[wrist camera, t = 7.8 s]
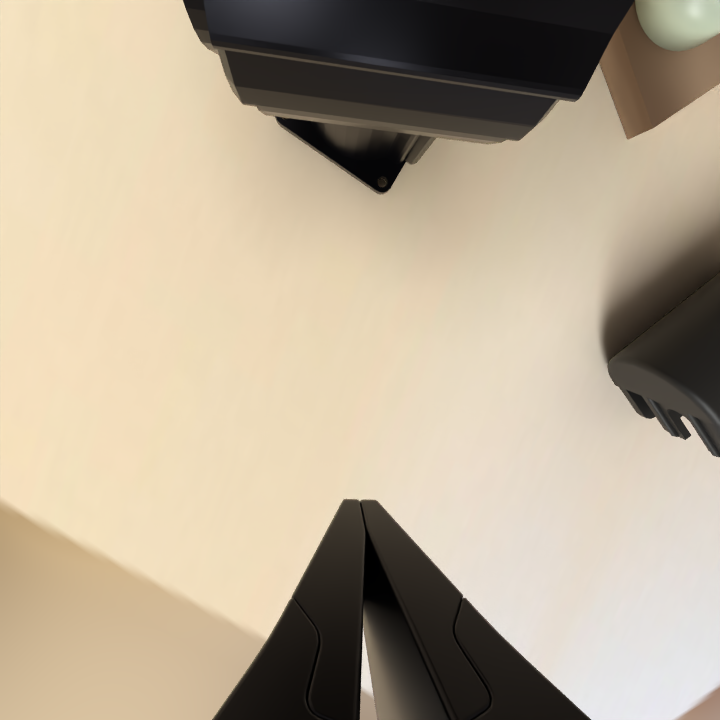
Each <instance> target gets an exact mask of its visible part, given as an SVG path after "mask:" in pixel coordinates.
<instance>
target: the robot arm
mask: <svg viewBox="0 0 720 720" xmlns="http://www.w3.org/2000/svg"><path fill="white" fill-rule="evenodd" d="M634 1H635V0H183V2H184V5H185V8H186V10H187V13H188V15H189V18H190V20H191V23H192V25H193V28H194V30H195V32H196V33H197V35H198V37H199V39H200V41H201V42H202V43H203V44H204V45H205V46H206V47H207V48H208V49H209V50H211V51H213V52H215V53H216V54H218V55H219V56H220V59H221V63H222V66H223V69H224V72H225V75H226V78H227V80H228V82H229V84H230V87H231V89H232V91H233V92H234V94H235V95H236V96H237V97H238V99H239V100H240V101H241V102H242V104H244V105H250V106H257V108H258V110H259V111H261V112H262V113H264V114H265V115H269V116H275V118H276V120H277V122H278V124H279V125H280V126H281V127H282V128H284V129H285V130H286V131H288V132H289V133H291V134H292V135H294V136H295V137H297V138H298V139H299V140H301V141H302V142H304V143H305V144H307V145H308V146H309V147H311V148H312V149H314V150H315V151H317V152H318V153H320V154H321V155H322V156H324V157H325V158H327V159H328V160H330V161H331V162H333V163H334V164H335V165H337V166H338V167H340V168H341V169H343V170H344V171H345V172H347V173H348V174H350V175H351V176H353V177H354V178H356V179H357V180H358V181H360V182H361V183H363V184H364V185H366V186H367V187H368V188H370V189H371V190H373V191H374V192H376V193H378V194H385V193H387V192H388V190H389V189H390V188H391V186H392V184H393V183H394V181H395V179H396V178H397V176H398V174H399V172H400V171H401V169H402V167H403V165H404V164H405V162H408V163H409V164H414V163H417V161H418V160H419V159H420V158H421V156H422V155H423V154H424V153H425V151H426V150H427V149H428V147H429V146H430V145H431V144H432V142H433V141H434V140H435V139H436V138H444V139H452V140H459V141H467V142H475V143H482V144H494V143H501V142H503V141H505V140H512V141H519V140H520V139H521V138H523V137H524V136H525V135H526V134H527V133H528V132H529V131H531V130H532V129H533V128H534V127H535V126H536V125H537V124H538V123H540V122H541V121H542V120H543V119H544V118H545V117H546V116H547V115H548V113H549V112H550V111H551V110H552V108H553V107H554V106H555V105H556V103H557V102H558V101H559V100H565V101H572V102H575V101H577V100H578V99H579V98H580V97H581V96H582V94H583V92H584V90H585V88H586V86H587V84H588V82H589V81H590V79H591V77H592V75H593V73H594V71H595V69H596V67H597V65H598V63H599V61H600V59H601V57H602V55H603V54H604V52H605V50H606V48H607V46H608V44H609V42H610V40H611V38H612V36H613V34H614V33H615V31H616V30H617V28H618V26H619V25H620V23H621V22H622V20H623V18H624V17H625V15H626V14H627V12H628V11H629V9H630V7H631V6H632V4H633V3H634ZM282 117H284V118H289V119H286V120H285V119H282ZM381 178H382V179H384V180H385V181H386V186H385V187H379V185H378V183H377V181H378V179H381ZM363 628H364V635H365V641H366V648H367V655H368V661H369V668H370V674H371V681H372V688H373V694H374V701H375V707H376V714H377V720H591V719H590V718H589V717H588V716H587V715H586V714H584V713H583V712H582V711H581V710H580V709H579V708H578V707H577V706H576V705H575V704H574V703H573V702H572V701H570V700H569V699H568V698H567V697H566V696H565V695H564V694H563V693H562V692H561V691H560V690H559V689H557V688H556V687H555V686H554V685H553V684H552V683H551V682H550V681H549V680H548V679H547V678H546V677H545V676H543V675H542V674H541V673H540V672H539V671H538V670H537V669H536V668H535V667H534V666H533V665H532V664H531V663H529V662H528V661H527V660H526V659H525V658H524V657H523V656H522V655H521V654H520V653H519V652H518V651H517V650H516V649H515V648H514V647H513V646H512V645H511V644H510V643H509V642H507V641H506V640H505V639H504V638H503V637H502V636H501V635H500V634H499V633H498V632H497V631H496V630H495V629H494V628H493V627H492V625H491V624H490V623H489V622H488V621H487V620H486V619H485V618H484V617H483V616H482V615H481V614H480V613H479V612H478V611H477V610H476V609H475V607H474V606H473V605H472V604H471V603H470V602H469V601H468V600H467V599H466V598H463V595H462V593H461V592H460V591H459V590H458V589H457V588H456V587H455V586H454V585H453V584H452V582H451V581H450V580H449V579H448V578H447V577H446V576H445V575H444V574H443V573H442V571H441V570H440V569H439V568H438V567H437V566H436V565H435V564H434V563H433V562H432V561H431V559H430V558H429V557H428V556H427V555H426V554H425V553H424V552H423V551H422V550H421V548H420V547H419V546H418V545H417V544H416V543H415V542H414V541H413V540H412V539H411V537H410V536H409V535H408V534H407V533H406V532H405V531H404V530H403V529H402V528H401V526H400V525H399V524H398V523H397V522H396V521H395V520H394V519H393V518H392V517H391V516H390V514H389V513H388V512H387V511H386V510H385V509H384V508H383V507H382V506H381V505H380V503H379V502H378V501H376V500H361V501H359V500H357V499H344V500H343V501H342V503H341V505H340V507H339V509H338V510H337V512H336V514H335V516H334V518H333V520H332V522H331V524H330V526H329V527H328V529H327V531H326V533H325V535H324V537H323V539H322V541H321V542H320V544H319V546H318V548H317V550H316V552H315V554H314V556H313V557H312V559H311V561H310V563H309V565H308V567H307V569H306V571H305V572H304V574H303V576H302V578H301V580H300V582H299V584H298V586H297V588H296V589H295V591H294V593H293V595H292V599H290V600H289V602H288V604H287V606H286V608H285V610H284V612H283V613H282V615H281V617H280V619H279V620H278V622H277V624H276V626H275V627H274V629H273V631H272V633H271V634H270V636H269V638H268V639H267V641H266V642H265V644H264V645H263V647H262V649H261V650H260V652H259V653H258V655H257V656H256V658H255V659H254V661H253V662H252V664H251V665H250V667H249V668H248V669H247V671H246V672H245V674H244V675H243V677H242V678H241V680H240V681H239V682H238V684H237V685H236V686H235V688H234V689H233V691H232V692H231V694H230V695H229V696H228V698H227V699H226V701H225V702H224V704H223V705H222V706H221V708H220V709H219V711H218V712H217V714H216V715H215V717H214V718H213V719H212V720H360V693H361V665H362V637H363Z"/></svg>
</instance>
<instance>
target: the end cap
mask: <svg viewBox="0 0 720 720" xmlns="http://www.w3.org/2000/svg"><path fill="white" fill-rule="evenodd" d="M608 372H609V375H610V377H611V379H612V381H613V382H614V384H615V385H616V386H619V388H620V389H621V390H622V392H623V393H624V395H625V396H626V398H627V399H628V401H629V402H630V403H631V405H632V406H633V408H634V409H635V411H636V412H637V413H638V414H639V415H641V416H643V417H645V418H649V419H652V418H654V417H656V418H657V419H658V421H659V422H660V423H661V425H662V426H663V428H664V429H665V430H666V431H668V432H669V433H670V434H671V435H672V436H675V437H680V438H683V439H685V440H686V439H687V438H689V437H690V436H691V434H690V433H689V431H688V430H687V428H686V427H685V425H684V423H683V422H682V420H681V419H680V417H681V416H684V417H686V418H687V419H688V420H689V421H690V422H691V424H692V425H693V427H694V429H695V430H696V432H697V433H698V435H699V436H700V438H701V439H702V441H703V442H704V444H705V446H706V447H707V449H708V450H709V451H710V452H711V453H712V455H713V456H716V457H720V273H718V274H717V275H716V276H715V277H713V278H712V279H711V280H710V281H708V282H707V283H706V284H705V285H703V286H702V287H701V288H700V289H698V290H697V291H696V292H694V293H693V294H692V295H691V296H689V297H688V298H687V299H686V300H684V301H683V302H682V303H681V304H679V305H678V306H677V307H676V308H674V309H673V310H672V311H671V312H669V313H668V314H667V315H666V316H664V317H663V318H662V319H661V320H659V321H658V322H657V323H656V324H654V325H653V326H652V327H650V328H649V329H648V330H647V331H645V332H644V333H643V334H642V335H640V336H639V337H638V338H637V339H635V340H634V341H633V342H632V343H630V344H629V345H628V346H627V347H625V348H624V349H623V350H622V351H620V352H619V353H618V354H617V355H615V356H614V357H613V358H612V359H611V360H610V361H609V364H608Z"/></svg>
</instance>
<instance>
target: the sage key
mask: <svg viewBox="0 0 720 720" xmlns="http://www.w3.org/2000/svg"><path fill="white" fill-rule="evenodd" d="M635 5H636V12H637V16H638V19H639V22H640V24H641V27H642V28H643V30H644V32H645V33H646V35H647V36H648V37H649V39H651V40H652V41H653V42H654V43H655V44H656V45H658V46H660V47H662V48H664V49H666V50H671V51H686V50H689V49H693V48H695V47H697V46H699V45H701V44H703V43H704V42H706V41H708V40H709V39H711V38H713V37H714V36H716V35H718V34H719V33H720V0H635Z"/></svg>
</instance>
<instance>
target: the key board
mask: <svg viewBox="0 0 720 720" xmlns="http://www.w3.org/2000/svg"><path fill="white" fill-rule="evenodd" d="M599 63H600V66H601V68H602V71H603V74H604V76H605V79H606V82H607V85H608V87H609V90H610V93H611V95H612V98H613V101H614V104H615V106H616V109H617V112H618V114H619V117H620V120H621V123H622V125H623V128H624V131H625V133H626V136H627V139H630V138H632V137H634V136H637V135H639V134H641V133H643V132H646V131H648V130H650V129H652V128H654V127H656V126H657V125H659V124H660V123H661V122H663V121H664V120H666V119H667V118H669V117H670V116H672V115H673V114H675V113H676V112H678V111H679V110H681V109H682V108H684V107H685V106H687V105H688V104H690V103H691V102H693V101H694V100H696V99H697V98H699V97H700V96H702V95H703V94H705V93H706V92H708V91H709V90H711V89H712V88H713V87H715V86H716V85H718V84H719V83H720V33H719V34H718V35H716V36H714V37H713V38H711V39H709V40H708V41H706V42H704V43H703V44H701V45H699V46H697V47H695V48H693V49H689V50H686V51H671V50H666V49H664V48H662V47H660V46H658V45H656V44H655V43H654V42H653V41H652V40H651V39H649V37H648V36H647V35H646V33H645V32H644V30H643V28H642V27H641V24H640V22H639V19H638V16H637V12H636V5H635V1H634V3H633V4H632V6H631V7H630V9H629V11H628V12H627V14H626V15H625V17H624V18H623V20H622V22H621V23H620V25H619V26H618V28H617V30H616V31H615V33H614V34H613V36H612V38H611V40H610V42H609V44H608V46H607V48H606V50H605V52H604V54H603V55H602V57H601V59H600V61H599Z"/></svg>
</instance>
